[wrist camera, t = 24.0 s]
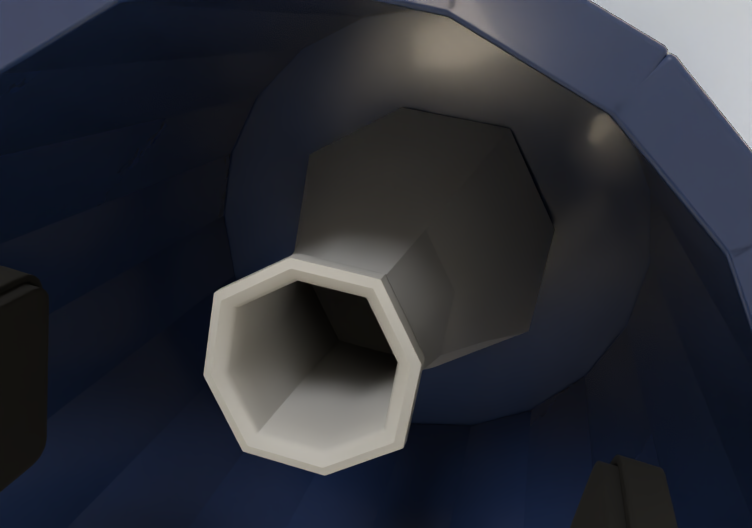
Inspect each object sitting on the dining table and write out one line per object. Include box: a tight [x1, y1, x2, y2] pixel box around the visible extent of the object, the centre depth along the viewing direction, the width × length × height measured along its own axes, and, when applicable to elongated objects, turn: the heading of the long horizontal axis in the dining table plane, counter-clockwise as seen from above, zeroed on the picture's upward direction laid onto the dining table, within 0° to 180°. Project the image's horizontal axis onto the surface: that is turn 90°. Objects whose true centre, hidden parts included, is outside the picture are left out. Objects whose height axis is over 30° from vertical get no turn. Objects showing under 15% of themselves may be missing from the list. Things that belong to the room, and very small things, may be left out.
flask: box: [203, 108, 555, 476], centre depth 14 cm, size 7×7×10 cm
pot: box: [0, 0, 752, 528], centre depth 15 cm, size 14×19×12 cm
